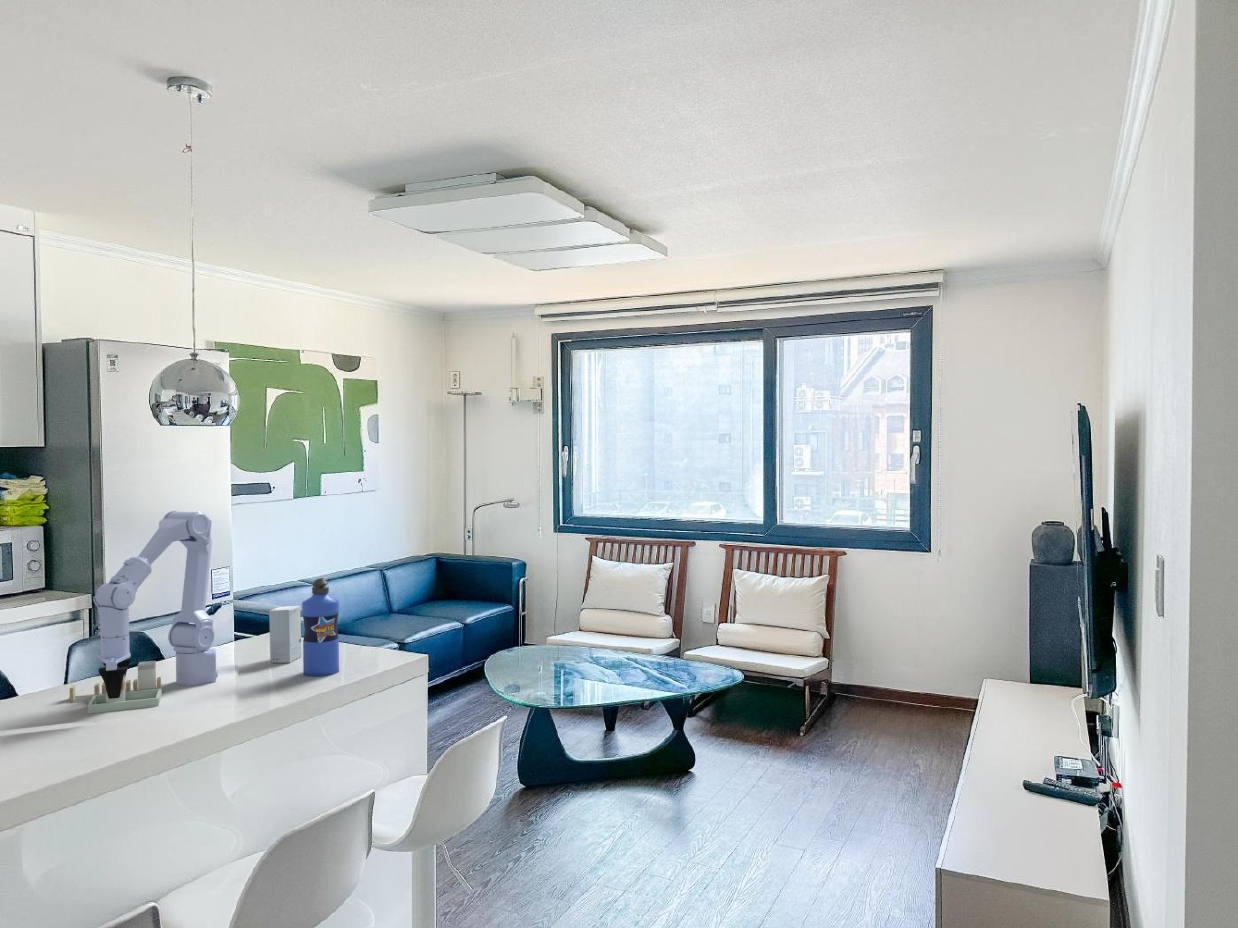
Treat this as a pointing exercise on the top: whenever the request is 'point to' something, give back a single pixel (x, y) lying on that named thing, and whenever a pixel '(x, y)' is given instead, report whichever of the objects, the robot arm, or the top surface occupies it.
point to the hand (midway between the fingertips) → (115, 694)
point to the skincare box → (285, 634)
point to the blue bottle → (320, 632)
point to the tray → (126, 704)
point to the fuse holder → (97, 691)
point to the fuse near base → (147, 675)
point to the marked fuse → (122, 695)
